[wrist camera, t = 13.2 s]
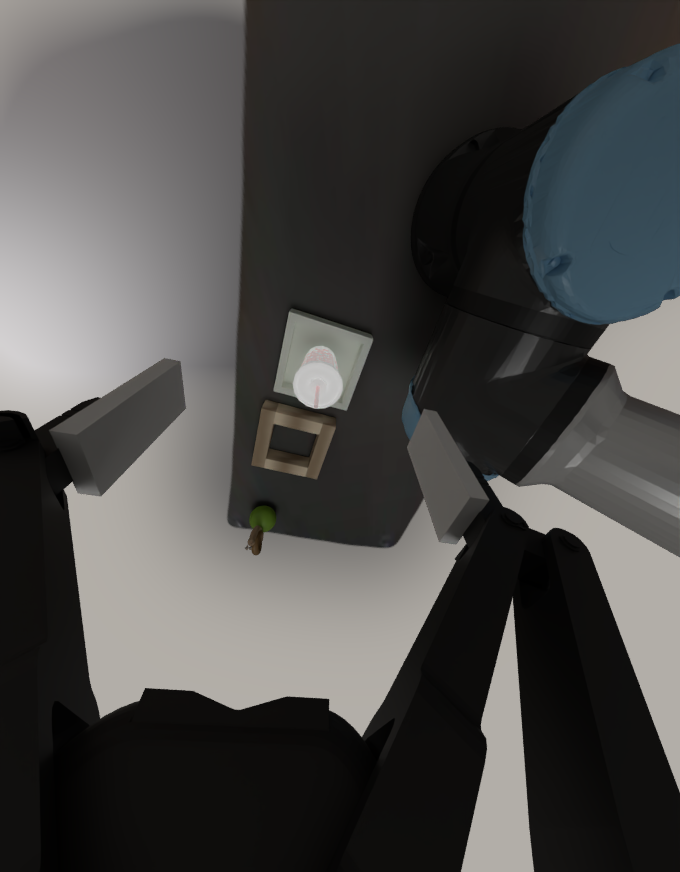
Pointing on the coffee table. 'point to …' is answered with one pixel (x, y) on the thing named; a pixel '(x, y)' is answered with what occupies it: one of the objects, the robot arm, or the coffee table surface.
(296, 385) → the beverage cup
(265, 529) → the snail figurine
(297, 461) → the socket holder
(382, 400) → the coffee table surface
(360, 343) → the tray
